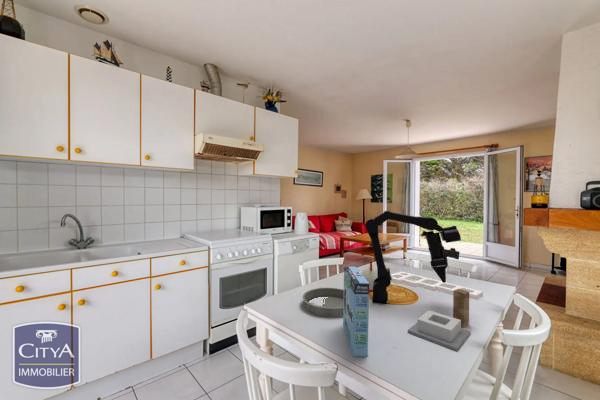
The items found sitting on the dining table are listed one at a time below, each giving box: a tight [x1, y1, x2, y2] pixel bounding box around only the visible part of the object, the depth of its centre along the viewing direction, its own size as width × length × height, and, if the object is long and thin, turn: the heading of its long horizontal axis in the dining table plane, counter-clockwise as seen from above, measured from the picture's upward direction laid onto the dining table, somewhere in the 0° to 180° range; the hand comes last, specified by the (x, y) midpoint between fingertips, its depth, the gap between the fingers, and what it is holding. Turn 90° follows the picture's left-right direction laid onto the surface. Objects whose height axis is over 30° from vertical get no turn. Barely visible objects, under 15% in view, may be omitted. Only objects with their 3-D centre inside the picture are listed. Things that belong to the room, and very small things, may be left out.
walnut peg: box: [452, 289, 470, 329], centre depth 102 cm, size 4×4×13 cm
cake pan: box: [302, 287, 344, 317], centre depth 119 cm, size 25×25×4 cm
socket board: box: [407, 310, 472, 352], centre depth 95 cm, size 16×16×5 cm
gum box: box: [342, 266, 370, 358], centre depth 90 cm, size 20×5×23 cm, turn 0°
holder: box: [390, 271, 484, 301], centre depth 145 cm, size 45×18×3 cm, turn 37°
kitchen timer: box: [361, 259, 378, 292], centre depth 142 cm, size 14×14×15 cm
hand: (444, 280), depth 113 cm, fingers open, 9 cm apart
